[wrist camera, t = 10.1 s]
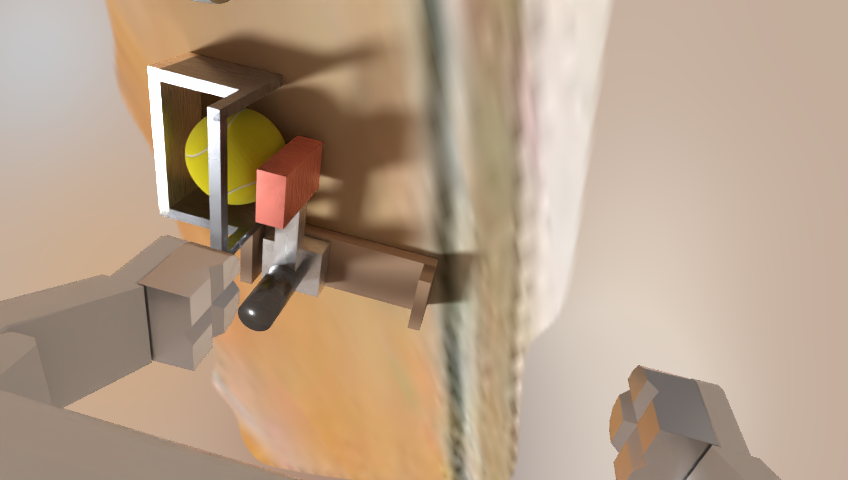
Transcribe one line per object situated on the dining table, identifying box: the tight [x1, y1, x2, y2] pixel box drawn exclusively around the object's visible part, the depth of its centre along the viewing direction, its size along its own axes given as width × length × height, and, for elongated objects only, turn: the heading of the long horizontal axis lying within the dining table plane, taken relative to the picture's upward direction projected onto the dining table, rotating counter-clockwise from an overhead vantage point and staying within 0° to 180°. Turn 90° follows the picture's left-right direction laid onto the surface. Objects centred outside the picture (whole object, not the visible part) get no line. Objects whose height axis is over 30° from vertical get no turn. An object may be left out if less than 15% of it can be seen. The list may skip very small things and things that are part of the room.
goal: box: [147, 52, 282, 254], centre depth 38 cm, size 12×7×9 cm, turn 169°
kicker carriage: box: [238, 135, 330, 331], centre depth 40 cm, size 13×5×9 cm, turn 169°
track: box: [240, 224, 438, 330], centre depth 45 cm, size 5×16×4 cm, turn 79°
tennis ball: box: [185, 108, 286, 205], centre depth 39 cm, size 7×7×7 cm
